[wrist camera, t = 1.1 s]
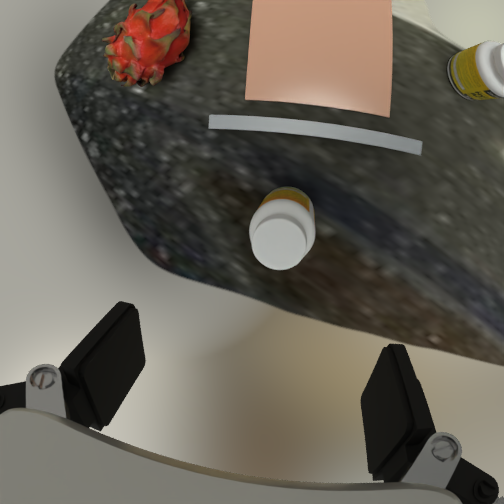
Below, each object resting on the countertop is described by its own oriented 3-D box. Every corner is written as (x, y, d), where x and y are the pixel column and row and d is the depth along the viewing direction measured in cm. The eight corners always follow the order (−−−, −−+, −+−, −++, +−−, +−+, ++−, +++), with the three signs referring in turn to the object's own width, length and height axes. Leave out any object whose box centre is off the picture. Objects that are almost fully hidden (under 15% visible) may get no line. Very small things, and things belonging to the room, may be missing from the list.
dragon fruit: (142, 97, 30) (190, 14, 27) (175, 107, 25) (234, 8, 22) (79, 73, 23) (135, -18, 20) (96, 74, 18) (169, -38, 15)
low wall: (404, 139, 25) (422, 141, 21) (403, 151, 26) (420, 155, 21) (224, 117, 28) (209, 114, 23) (224, 129, 28) (208, 128, 24)
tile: (389, -2, 20) (391, -3, 19) (388, 117, 25) (389, 117, 25) (255, -17, 22) (254, -19, 21) (246, 100, 27) (245, 99, 26)
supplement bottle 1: (252, 199, 31) (228, 227, 22) (300, 177, 29) (296, 195, 20) (275, 244, 32) (261, 289, 23) (322, 225, 30) (327, 263, 21)
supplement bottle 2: (455, 103, 23) (507, 97, 14) (438, 55, 21) (483, 32, 12) (491, 98, 21) (545, 94, 12) (475, 52, 20) (524, 34, 11)
